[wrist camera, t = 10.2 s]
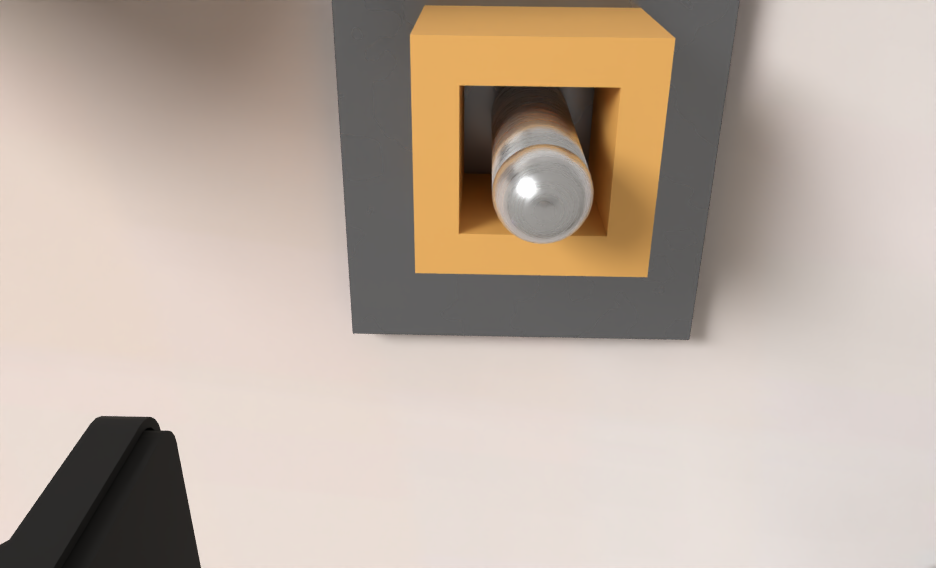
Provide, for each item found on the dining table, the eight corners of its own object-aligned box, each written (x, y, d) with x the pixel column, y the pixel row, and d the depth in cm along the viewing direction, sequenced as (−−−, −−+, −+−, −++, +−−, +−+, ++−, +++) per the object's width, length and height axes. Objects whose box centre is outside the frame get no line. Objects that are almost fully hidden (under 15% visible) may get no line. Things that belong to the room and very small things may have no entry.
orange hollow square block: (424, 5, 24) (409, 35, 20) (641, 8, 24) (675, 38, 20) (427, 207, 27) (415, 273, 23) (621, 210, 27) (647, 277, 23)
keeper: (326, -177, 23) (237, -205, 15) (754, -173, 23) (903, -200, 15) (356, 319, 30) (307, 485, 22) (683, 325, 30) (756, 495, 22)
